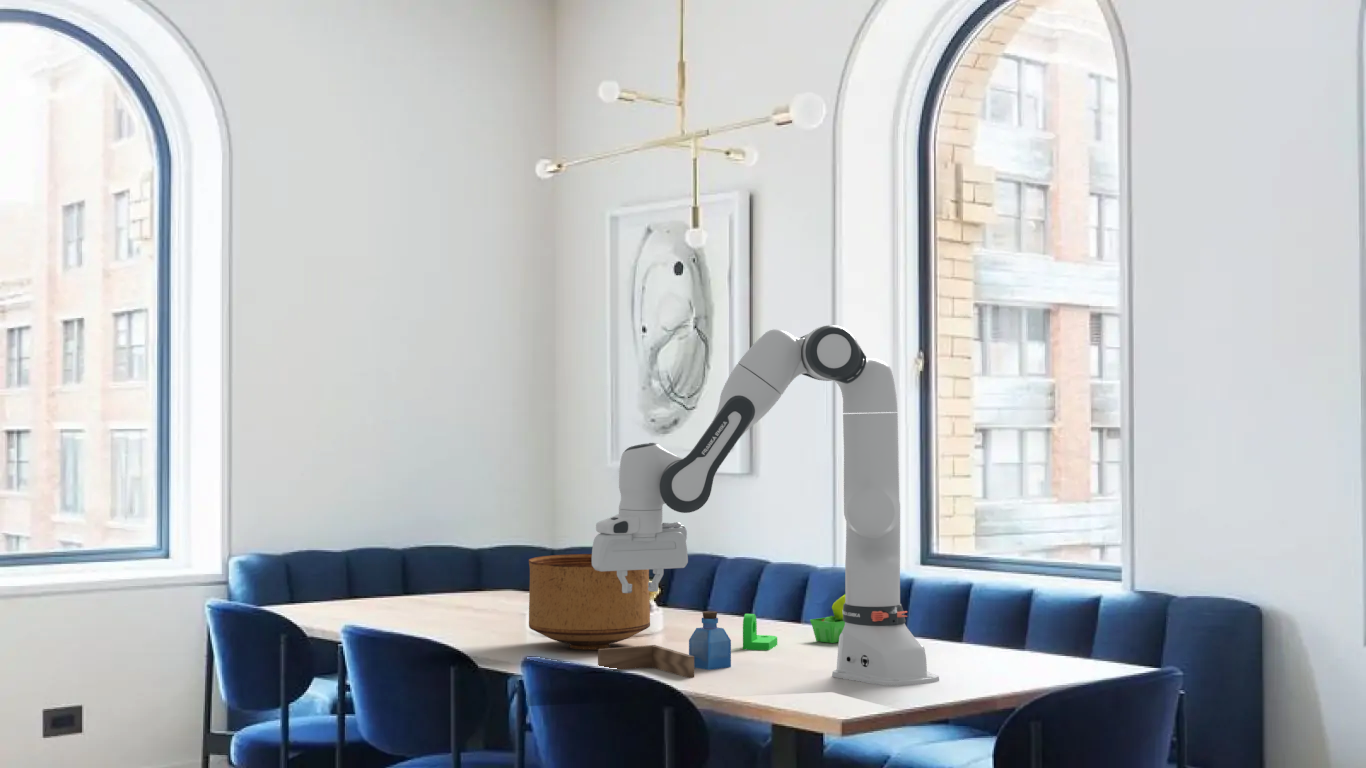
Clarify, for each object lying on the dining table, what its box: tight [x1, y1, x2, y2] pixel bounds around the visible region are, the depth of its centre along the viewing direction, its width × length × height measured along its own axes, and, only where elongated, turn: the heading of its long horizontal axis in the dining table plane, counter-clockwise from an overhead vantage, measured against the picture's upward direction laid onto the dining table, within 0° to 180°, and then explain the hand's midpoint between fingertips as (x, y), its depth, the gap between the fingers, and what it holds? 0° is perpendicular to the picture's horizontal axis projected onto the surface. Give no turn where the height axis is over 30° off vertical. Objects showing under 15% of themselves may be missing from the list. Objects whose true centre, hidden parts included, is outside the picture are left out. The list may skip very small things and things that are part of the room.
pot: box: [528, 553, 651, 651], centre depth 381 cm, size 28×28×20 cm
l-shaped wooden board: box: [597, 644, 695, 679], centre depth 339 cm, size 18×13×5 cm
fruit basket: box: [809, 593, 845, 644], centre depth 392 cm, size 11×9×11 cm
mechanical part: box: [742, 613, 778, 651], centre depth 382 cm, size 12×6×8 cm, turn 165°
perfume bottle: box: [688, 610, 732, 671], centre depth 349 cm, size 6×6×12 cm
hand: (640, 592), depth 338 cm, fingers open, 4 cm apart
